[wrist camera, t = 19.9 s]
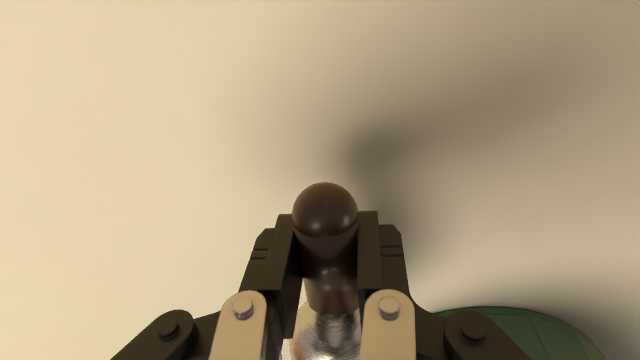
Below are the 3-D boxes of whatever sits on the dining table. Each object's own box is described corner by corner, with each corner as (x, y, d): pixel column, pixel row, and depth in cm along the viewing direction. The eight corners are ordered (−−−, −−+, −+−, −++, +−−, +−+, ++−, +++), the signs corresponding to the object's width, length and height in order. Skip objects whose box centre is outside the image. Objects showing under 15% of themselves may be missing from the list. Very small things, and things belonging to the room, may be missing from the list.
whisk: (270, 172, 13) (239, 249, 9) (381, 167, 12) (389, 246, 9) (308, 349, 18) (296, 435, 15) (385, 351, 18) (391, 441, 14)
